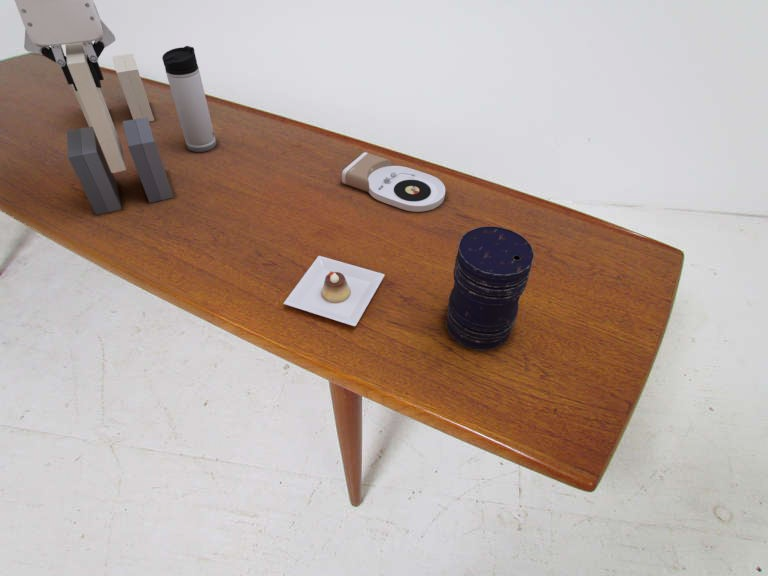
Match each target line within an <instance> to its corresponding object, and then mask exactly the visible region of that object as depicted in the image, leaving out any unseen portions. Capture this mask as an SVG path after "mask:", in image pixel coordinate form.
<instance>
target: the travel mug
mask: <svg viewBox="0 0 768 576" xmlns="http://www.w3.org/2000/svg"><path fill="white" fill-rule="evenodd" d="M161 59H162V62H163V66H164V70H165V73H166V78H167V81H168V84H169V89H170V92H171V95H172V97H173V98H172V99H173V102H174V106H175V109H176V113H177V116H178V121H179V123H180V126H181V130H182V134H183V137H184V140H185V144H186V147H187V149H188V150H189V151H192V152H194V153H205V152H209V151H211V150H213V149H214V148H216V146H217V139H216V136H215V131H214V127H213V122H212V118H211V114H210V109H209V105H208V102H207V97H206V93H205V89H204V85H203V81H202V77H201V76H202V75H201V71H200V67H199V65H198V61H197V57H196V53H195V48H194V47H193V46H189V45H185V46H181V47H175V48H172V49H169V50H167V51H165V53H164V54H163V55H162V57H161Z"/></svg>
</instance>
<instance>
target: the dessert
mask: <svg viewBox="0 0 768 576" xmlns="http://www.w3.org/2000/svg"><path fill="white" fill-rule="evenodd" d="M385 276H386V274H385V273H382V272H379V271H374V270H371V269H368V268H364V267H361V266H358V265H353V264H350V263H347V262H344V261H339V260H335V259H333V258H329V257H325V256H322V255H318V256H317V257H316V258H315V260H314V261H313V263H312V264H311V265H310V267H309V268H308V269H307V270H306V272H305V273H304V275H303V276H302V277H301V279H300V280H299V281H298V282H297V284H296V286H295V287H294V288H293V290H291V291H290V294H289V295H288V296H287V298H286V299H285V300H284V302H283V305H286V306H289V307H291V308H295V309H299V310H301V311H305V312H308V313H310V314H314V315H316V316H317V315H318V316H320V317H324V318H327V319H330V320H334V321H336V322H339V323H343V324H346V325H349V326H352V327H356V326H357V324H358V323H359V321H360V319H361V318H362V316H363V315H364V312H365V311H366V309H367V307H368V305H369V304H370V302H371V300H372V298H373V297H374V295H375V293H376V291H377V290H378V288H379V286H380V284H381V283H382V281H383V279H384V278H385Z"/></svg>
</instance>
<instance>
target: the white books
mask: <svg viewBox="0 0 768 576" xmlns="http://www.w3.org/2000/svg"><path fill="white" fill-rule="evenodd" d="M112 59H113V64H114V69H115V73H116V75H117V78H118V81H119V84H120V87H121V89H122V92H123V95H124V97H125V98H124V99H125V101H126V103H127V106H128V109H129V112H130V115H131V117H132V120H133V119H139V118H145V117H147V118H148V121H149V123H150V122H154V121H155V117H154V115H153V112H152V109H151V106H150V103H149V99H148V95H147V93H146V90H145V87H144V84H143V81H142V78H141V74H140V72H139V68H138V66H137V63H136V59H135V56H134V53H127V54H120V55H112ZM70 86H71V88H72V90H73V93H74V95H75V97H76V100H77V102H78V104H79V107H80V109H81V111H82V113H83V116H84V119H85V121H86V123H87V127H92V124H91V122H90V119H89V117H88V114H87V112H86V110H85V107H84V105H83V102H82V100H81V97H80V95H79V92H78V91H75V88H74V86H73V84H70ZM106 106H107V107H108V105H107V104H106Z"/></svg>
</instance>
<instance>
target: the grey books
mask: <svg viewBox="0 0 768 576" xmlns="http://www.w3.org/2000/svg"><path fill="white" fill-rule="evenodd" d="M122 126H123V131H124V135H125V139H126V144H127V147H128V151H129V153H130V156H131V157H132V161H133V163H134V166H135V168H136V171H137V174H138V176H139V179H140V182H141V184H142V187H143V189H144V192H145V195H146V199H147V200H148V203H149V204H151V203H156V202H161V201H165V200H169V199H173V198H174V196H173V191H172V188H171V184H170V182H169V179H168V175H167V172H166V169H165V166H164V163H163V160H162V157H161V154H160V151H159V148H158V145H157V142H156V140H155V136H154V132H153V130H152V128H151V124H150V122H149V121H148V118H147V117H145V118H139V119H133V118H132V119H128V120H127V119H126V120H122ZM66 140H67V141H66V144H67V157H68V160H69V162H70V164H71V167H72V168H73V170H74V173H75V175H76V176H77V179H78V181H79V183H80V185H81V187H82V189H83V191H84V194H85V195H86V197H87V200H88V202H89V204H90V206H91V207H92V210H93V212H94V214H95V216H98V215H103V214H107V213H112V212H117V211H120V210H122V206H121V205H122V204H121V200H120V199H121V198H120V193H119V188H118V182H117V179H116V177H115V175H114V173H111V171H110V168H109V166H108V163H107V161H106V158H105V156H104V154H103V151H102V149H101V146H100V144H99V141H98V139H97V136H96V134H95V132H94V129H93V127H89V126H87V127H81V128H76V129H75V128H74V129H70V130H66Z"/></svg>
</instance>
